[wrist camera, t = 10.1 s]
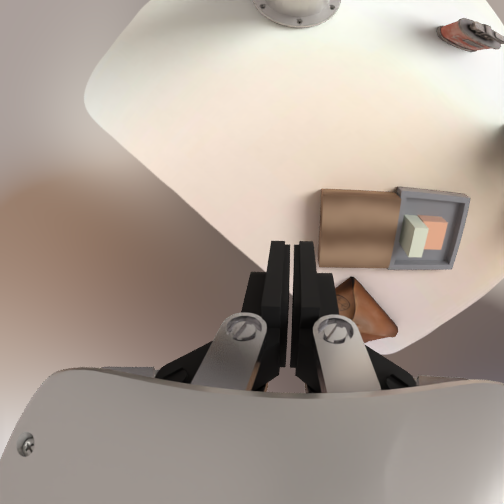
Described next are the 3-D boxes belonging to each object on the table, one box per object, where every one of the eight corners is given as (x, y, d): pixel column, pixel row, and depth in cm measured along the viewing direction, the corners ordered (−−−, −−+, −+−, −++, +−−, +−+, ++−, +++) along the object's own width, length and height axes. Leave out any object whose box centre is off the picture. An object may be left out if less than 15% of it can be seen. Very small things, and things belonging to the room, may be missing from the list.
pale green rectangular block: (415, 227, 36) (428, 228, 35) (403, 214, 40) (416, 215, 39) (408, 257, 38) (421, 257, 38) (398, 241, 42) (411, 242, 42)
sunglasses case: (316, 300, 51) (334, 311, 44) (339, 271, 51) (359, 278, 45) (365, 344, 56) (383, 356, 49) (384, 319, 56) (403, 329, 50)
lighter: (437, 40, 25) (471, 31, 16) (436, 22, 23) (468, 10, 14) (475, 55, 24) (511, 53, 15) (474, 38, 22) (509, 33, 13)
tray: (397, 186, 38) (401, 190, 36) (464, 194, 36) (470, 198, 34) (384, 263, 45) (387, 269, 43) (447, 263, 43) (451, 269, 41)
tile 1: (447, 222, 37) (441, 216, 39) (423, 221, 37) (417, 214, 39) (441, 249, 39) (435, 242, 41) (417, 249, 40) (412, 241, 42)
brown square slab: (321, 188, 40) (323, 195, 38) (394, 192, 39) (401, 199, 36) (317, 257, 46) (319, 267, 44) (384, 258, 45) (388, 267, 42)
